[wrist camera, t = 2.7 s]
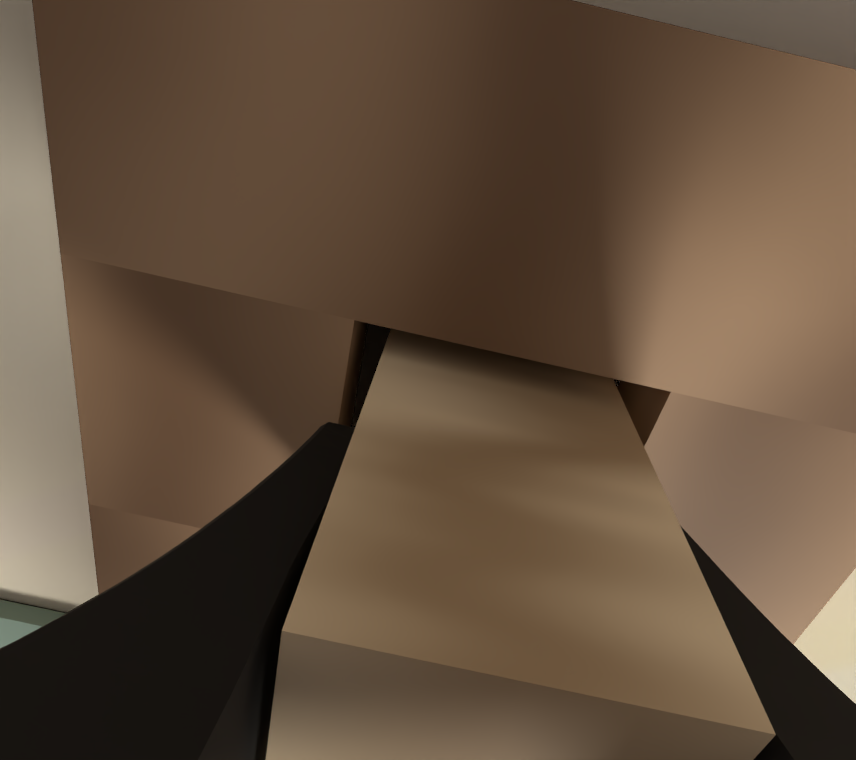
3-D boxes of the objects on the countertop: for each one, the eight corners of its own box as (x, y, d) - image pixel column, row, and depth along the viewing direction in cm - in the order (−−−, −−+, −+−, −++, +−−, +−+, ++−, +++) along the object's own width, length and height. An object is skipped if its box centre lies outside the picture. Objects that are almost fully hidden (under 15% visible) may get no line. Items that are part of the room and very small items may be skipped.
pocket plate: (1043, 138, 8) (1195, 152, 7) (664, 691, 15) (688, 771, 13) (118, -87, 8) (16, -136, 6) (150, 582, 15) (104, 650, 13)
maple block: (602, 356, 11) (775, 733, 4) (539, 512, 12) (599, 929, 6) (397, 310, 10) (281, 629, 4) (365, 475, 12) (253, 861, 6)
